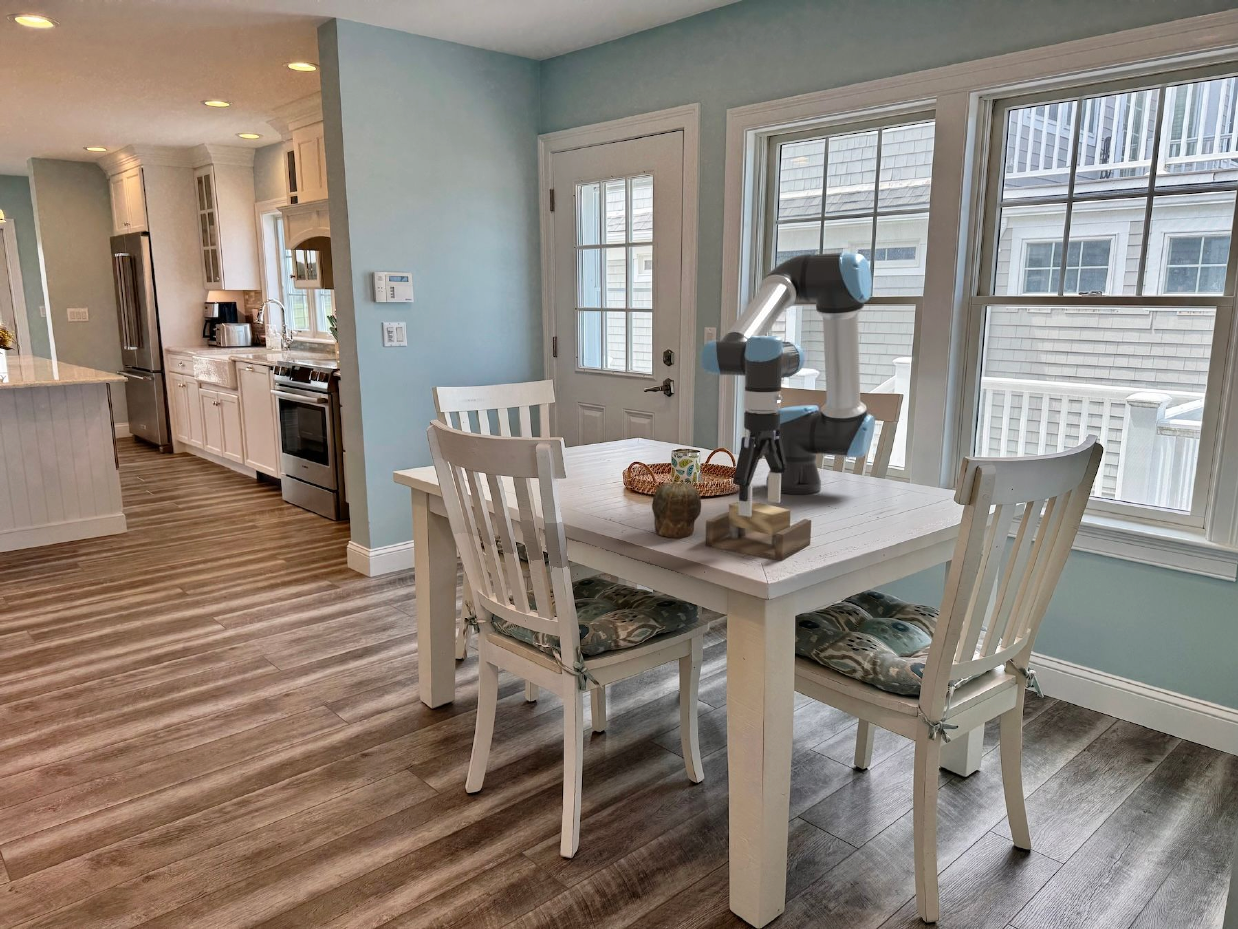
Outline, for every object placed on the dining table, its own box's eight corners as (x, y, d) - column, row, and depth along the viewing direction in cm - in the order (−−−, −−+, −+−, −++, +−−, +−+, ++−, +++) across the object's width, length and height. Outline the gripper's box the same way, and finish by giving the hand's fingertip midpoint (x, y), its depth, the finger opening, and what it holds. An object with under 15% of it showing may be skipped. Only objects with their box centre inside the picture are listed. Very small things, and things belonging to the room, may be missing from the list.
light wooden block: (789, 530, 177) (790, 510, 176) (771, 535, 173) (772, 514, 172) (746, 519, 186) (747, 499, 185) (728, 524, 182) (729, 504, 181)
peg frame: (705, 545, 180) (706, 521, 179) (736, 531, 191) (737, 507, 190) (782, 560, 169) (783, 534, 168) (810, 544, 180) (811, 520, 179)
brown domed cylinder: (665, 543, 182) (666, 489, 179) (644, 530, 192) (644, 479, 189) (709, 537, 186) (710, 485, 184) (686, 525, 196) (686, 475, 194)
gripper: (750, 420, 162) (748, 524, 167) (803, 404, 182) (800, 498, 187) (717, 416, 167) (715, 518, 171) (772, 402, 186) (770, 494, 191)
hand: (759, 508), depth 179 cm, fingers open, 13 cm apart
